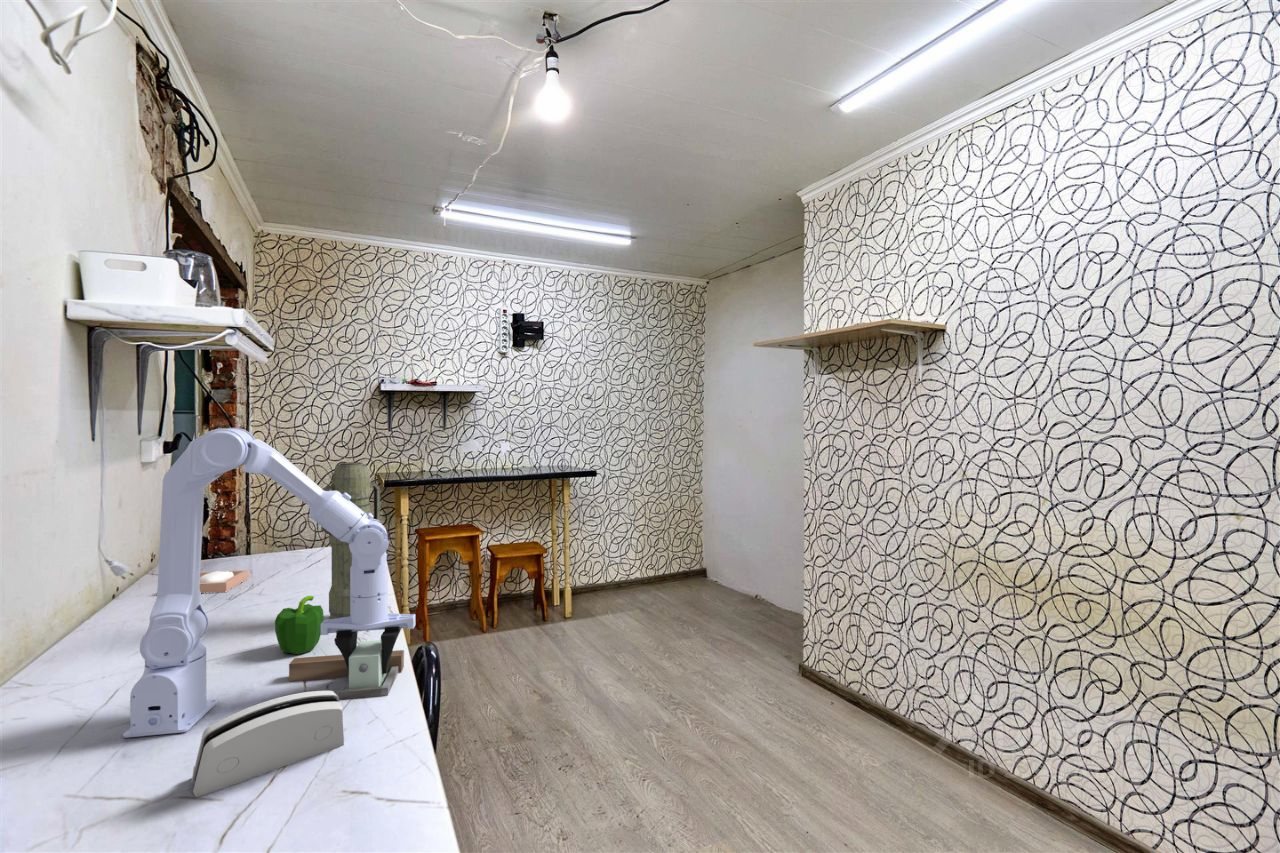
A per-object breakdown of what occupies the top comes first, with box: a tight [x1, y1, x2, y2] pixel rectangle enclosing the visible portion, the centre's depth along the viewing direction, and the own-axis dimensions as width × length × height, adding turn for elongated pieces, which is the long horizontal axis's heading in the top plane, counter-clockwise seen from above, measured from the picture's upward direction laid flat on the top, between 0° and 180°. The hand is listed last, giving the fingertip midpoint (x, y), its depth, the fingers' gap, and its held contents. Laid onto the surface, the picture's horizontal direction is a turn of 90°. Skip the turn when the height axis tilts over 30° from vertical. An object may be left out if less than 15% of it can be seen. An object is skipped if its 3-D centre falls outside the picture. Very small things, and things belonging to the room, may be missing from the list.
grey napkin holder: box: [191, 690, 345, 798], centre depth 75 cm, size 17×5×10 cm, turn 133°
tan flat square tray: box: [199, 569, 250, 593], centre depth 154 cm, size 13×14×2 cm
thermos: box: [320, 461, 381, 619], centre depth 129 cm, size 9×12×35 cm
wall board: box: [288, 649, 405, 701], centre depth 98 cm, size 11×18×3 cm, turn 102°
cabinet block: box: [348, 639, 389, 689], centre depth 98 cm, size 8×4×6 cm, turn 12°
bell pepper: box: [274, 595, 324, 655], centre depth 112 cm, size 8×8×10 cm
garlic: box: [200, 570, 234, 583], centre depth 155 cm, size 8×7×4 cm
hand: (369, 672), depth 98 cm, fingers closed on cabinet block, 4 cm apart
